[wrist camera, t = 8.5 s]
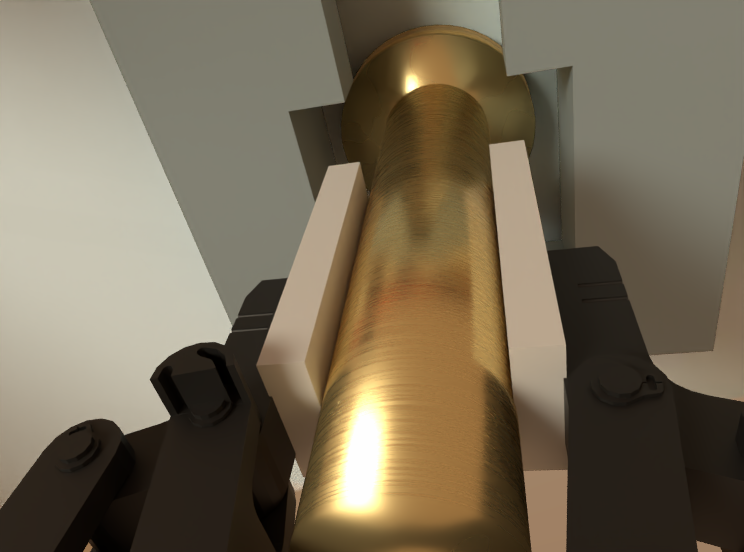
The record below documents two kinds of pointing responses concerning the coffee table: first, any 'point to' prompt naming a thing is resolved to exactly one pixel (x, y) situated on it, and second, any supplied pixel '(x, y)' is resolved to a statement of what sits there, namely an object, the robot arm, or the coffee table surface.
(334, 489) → the brass peg
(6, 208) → the coffee table surface
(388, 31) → the coffee table surface
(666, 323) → the keyhole board
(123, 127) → the coffee table surface
